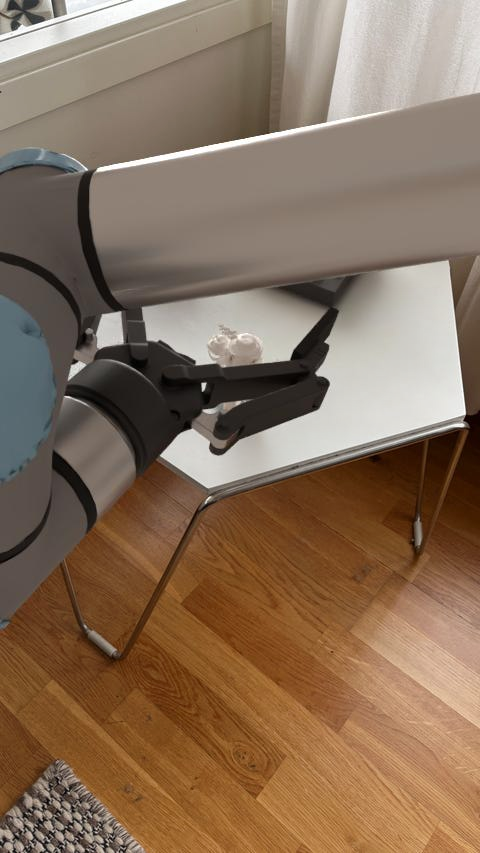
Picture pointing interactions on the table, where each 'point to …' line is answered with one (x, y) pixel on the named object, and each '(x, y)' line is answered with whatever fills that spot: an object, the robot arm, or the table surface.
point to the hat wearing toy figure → (235, 352)
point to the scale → (321, 289)
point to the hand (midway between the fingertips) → (258, 281)
